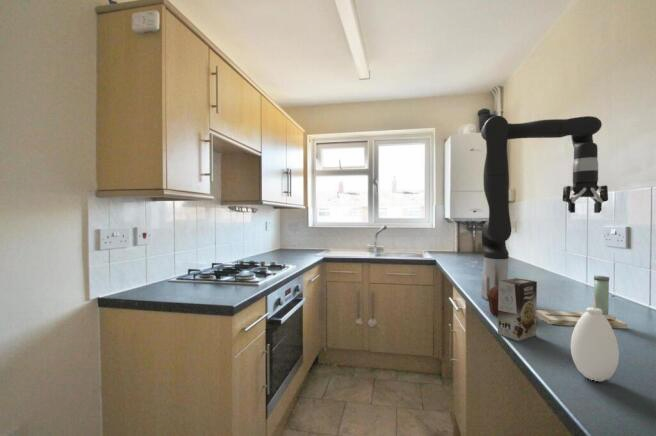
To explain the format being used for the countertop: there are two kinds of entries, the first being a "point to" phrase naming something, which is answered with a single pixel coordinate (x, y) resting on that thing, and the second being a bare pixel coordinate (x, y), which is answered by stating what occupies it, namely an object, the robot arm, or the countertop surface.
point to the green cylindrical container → (602, 295)
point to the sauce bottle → (594, 345)
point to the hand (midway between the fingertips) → (584, 212)
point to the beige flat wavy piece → (571, 318)
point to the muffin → (493, 299)
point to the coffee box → (517, 308)
